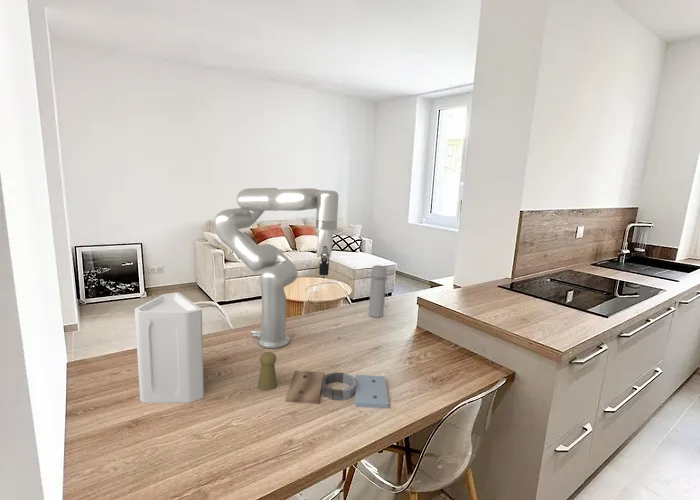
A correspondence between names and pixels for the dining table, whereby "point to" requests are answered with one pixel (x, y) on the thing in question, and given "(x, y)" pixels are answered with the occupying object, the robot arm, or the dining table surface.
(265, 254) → the robot arm
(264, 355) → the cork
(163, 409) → the dining table surface
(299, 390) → the leaf
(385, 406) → the leaf
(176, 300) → the white triangular canister
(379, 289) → the water bottle
